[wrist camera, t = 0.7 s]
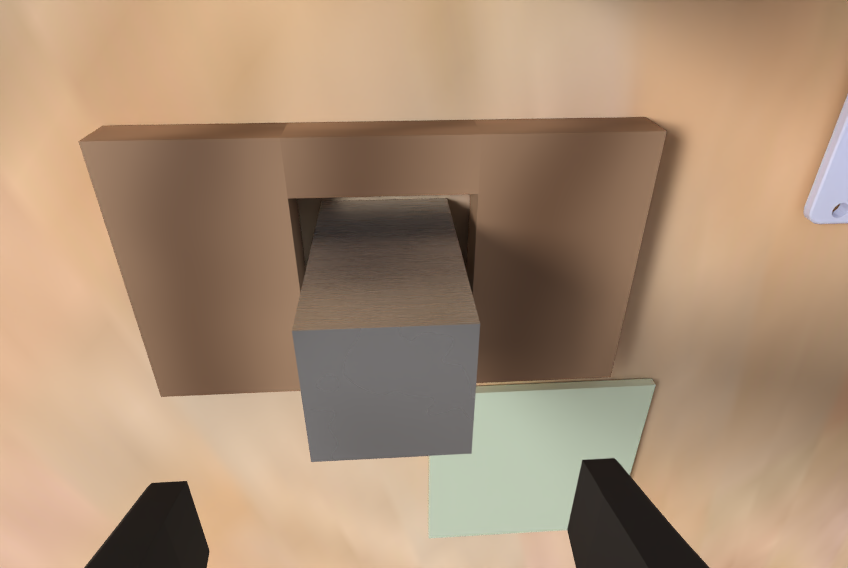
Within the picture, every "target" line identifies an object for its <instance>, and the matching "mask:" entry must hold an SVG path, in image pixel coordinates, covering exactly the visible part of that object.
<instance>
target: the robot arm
mask: <svg viewBox="0 0 848 568" xmlns="http://www.w3.org/2000/svg"><path fill="white" fill-rule="evenodd" d="M838 204H840V206H839V207H838V208H837V210H835V211H834V212H832V211H833V209H834V208H835V207H836V206H837V205H838ZM804 216H805V217H806V218H807V219H808V220H810V221H812V222H813V223H816V224H838V223H848V95H847V97H846V100H845V103H844V105H843V108H842V110H841V113H840V116H839V118H838V121H837V123H836V126H835V129H834V131H833V134H832V136H831V139H830V142H829V144H828V147H827V150H826V152H825V155H824V157H823V160H822V163H821V165H820V168H819V170H818V173H817V176H816V178H815V181H814V183H813V186H812V189H811V191H810V194H809V196H808V199H807V202H806V204H805V207H804ZM567 530H568V534H569V539H570V543H571V547H572V552H573V556H574V561H575V565H576V568H709V567H708V566H707V564H706V563H705V562H704V561H703V560H702V559H701V558H700V557H699V556H698V554H697V553H696V552H695V551H694V550H693V549H692V548H691V547H690V546H689V545H688V543H687V542H686V541H685V540H684V539H683V538H682V537H681V536H680V534H679V533H678V532H677V531H676V530H675V529H674V528H673V526H672V525H671V524H670V523H669V522H668V521H667V519H666V518H665V517H664V516H663V515H662V514H661V512H660V511H659V510H658V509H657V508H656V507H655V505H654V504H653V503H652V502H651V501H650V499H649V498H648V497H647V496H646V495H645V493H644V492H643V491H642V490H641V489H640V487H639V486H638V485H637V484H636V483H635V481H634V480H633V479H632V478H631V476H630V475H629V474H628V473H627V472H626V470H625V469H624V468H623V467H622V465H621V464H620V463H619V462H618V461H617V460H616V459H615V458H606V459H587V460H582V463H581V468H580V473H579V477H578V482H577V487H576V491H575V496H574V500H573V505H572V510H571V514H570V519H569V524H568V528H567ZM208 557H209V548H208V545H207V542H206V539H205V536H204V533H203V529H202V526H201V523H200V520H199V517H198V514H197V511H196V508H195V505H194V502H193V499H192V496H191V493H190V489H189V486H188V483H187V481H179V482H161V483H151V484H150V485H149V486H148V487H147V488H146V490H145V491H144V492H143V493H142V495H141V496H140V497H139V499H138V500H137V501H136V502H135V504H134V505H133V506H132V508H131V509H130V510H129V512H128V513H127V514H126V515H125V517H124V518H123V519H122V521H121V522H120V523H119V524H118V526H117V527H116V528H115V530H114V531H113V532H112V533H111V535H110V536H109V537H108V539H107V540H106V541H105V542H104V544H103V545H102V546H101V547H100V549H99V550H98V551H97V552H96V554H95V555H94V556H93V557H92V559H91V560H90V561H89V562H88V564H87V565H86V566H85V567H84V568H207V562H208Z"/></svg>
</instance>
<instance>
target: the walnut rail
mask: <svg viewBox="0 0 848 568" xmlns="http://www.w3.org/2000/svg"><path fill="white" fill-rule="evenodd" d="M666 133H667V131H666V130H664V129H663V128H661V127H660V126H658V125H657V124H655V123H653V122H652V121H650V120H649V119H647V118H646V117H627V118H564V119H501V120H438V121H374V122H311V123H248V124H185V125H122V126H102V127H100V128H98V129H97V130H95V131H94V132H92V133H91V134H89V135H88V136H86V137H85V138H83V139H82V140H80V141H79V144H80V147H81V150H82V154H83V157H84V160H85V163H86V166H87V169H88V172H89V175H90V178H91V181H92V185H93V188H94V191H95V194H96V197H97V200H98V203H99V206H100V209H101V212H102V215H103V219H104V222H105V225H106V228H107V231H108V234H109V237H110V240H111V243H112V246H113V250H114V253H115V256H116V259H117V262H118V265H119V268H120V271H121V274H122V277H123V280H124V284H125V287H126V290H127V293H128V296H129V299H130V302H131V305H132V308H133V311H134V314H135V318H136V321H137V324H138V327H139V330H140V333H141V336H142V339H143V342H144V345H145V349H146V352H147V355H148V358H149V361H150V364H151V367H152V370H153V373H154V376H155V379H156V383H157V386H158V389H159V392H160V395H161V397H167V396H190V395H212V394H235V393H258V392H281V391H301V389H300V382H299V376H298V369H297V362H296V356H295V349H294V342H293V335H292V328H293V324H294V319H295V315H296V310H297V306H298V302H299V297H300V293H301V289H302V284H303V280H304V275H305V271H306V267H305V259H304V251H303V243H302V235H301V227H300V219H299V211H298V203H297V198H331V197H374V196H416V195H458V194H470V212H469V233H468V254H467V276H468V280H469V284H470V287H471V291H472V295H473V299H474V302H475V306H476V310H477V314H478V317H479V321H480V334H479V349H478V364H477V379H476V383H487V382H510V381H533V380H556V379H579V378H602V377H611V373H612V369H613V365H614V360H615V356H616V351H617V347H618V343H619V338H620V334H621V330H622V325H623V321H624V316H625V312H626V308H627V303H628V299H629V295H630V290H631V286H632V282H633V277H634V273H635V268H636V264H637V260H638V255H639V251H640V247H641V242H642V238H643V233H644V229H645V225H646V220H647V216H648V212H649V207H650V203H651V199H652V194H653V190H654V185H655V181H656V177H657V172H658V168H659V164H660V159H661V155H662V150H663V146H664V142H665V137H666Z"/></svg>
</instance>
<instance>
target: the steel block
mask: <svg viewBox="0 0 848 568" xmlns="http://www.w3.org/2000/svg"><path fill="white" fill-rule="evenodd" d="M479 334H480V321H479V317H478V314H477V310H476V306H475V302H474V299H473V295H472V291H471V287H470V284H469V280H468V276H467V272H466V268H465V265H464V261H463V257H462V253H461V250H460V246H459V242H458V238H457V235H456V231H455V227H454V223H453V219H452V216H451V212H450V208H449V204H448V201H447V198H432V199H390V200H348V201H321V206H320V210H319V214H318V219H317V223H316V227H315V232H314V236H313V240H312V245H311V249H310V254H309V258H308V262H307V267H306V271H305V275H304V280H303V284H302V289H301V293H300V297H299V302H298V306H297V310H296V315H295V319H294V324H293V328H292V335H293V342H294V349H295V356H296V362H297V369H298V376H299V382H300V389H301V396H302V403H303V409H304V416H305V423H306V430H307V436H308V443H309V450H310V456H311V462H318V461H338V460H357V459H377V458H396V457H416V456H435V455H454V454H472V439H473V424H474V409H475V394H476V379H477V364H478V349H479Z"/></svg>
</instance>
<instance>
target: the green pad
mask: <svg viewBox="0 0 848 568" xmlns="http://www.w3.org/2000/svg"><path fill="white" fill-rule="evenodd" d="M655 386H656V385H655V383H654V382H653V380H652V379H628V380H605V381H583V382H560V383H537V384H515V385H492V386H476V394H475V409H474V424H473V439H472V454H454V455H435V456H429V500H428V534H429V538H442V537H459V536H476V535H492V534H509V533H526V532H542V531H559V530H567V528H568V524H569V519H570V514H571V510H572V505H573V500H574V496H575V491H576V487H577V482H578V477H579V473H580V468H581V463H582V460H587V459H606V458H615V459H616V460H617V461H618V462H619V463H620V464H621V465H622V467H623V468H624V469H625V470H626V472H627V473H628V474H629V475H630V473H631V469H632V466H633V462H634V459H635V456H636V452H637V449H638V445H639V442H640V438H641V435H642V431H643V428H644V424H645V421H646V417H647V414H648V410H649V407H650V403H651V400H652V396H653V393H654V389H655Z"/></svg>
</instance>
